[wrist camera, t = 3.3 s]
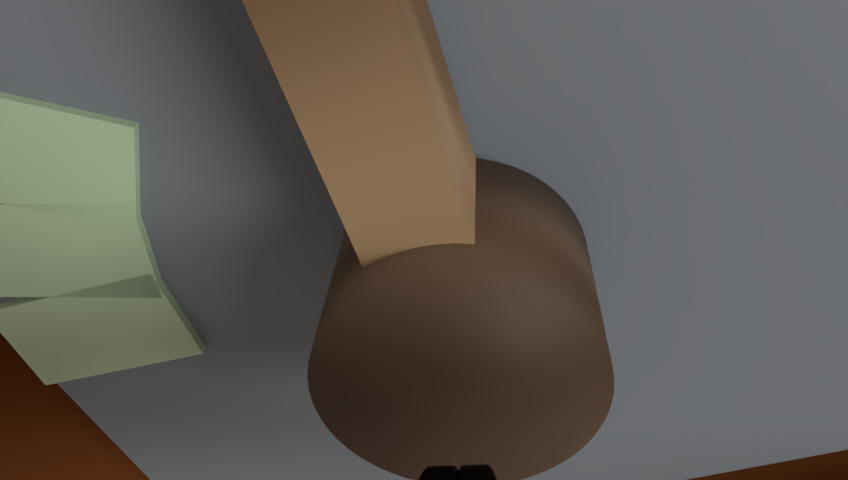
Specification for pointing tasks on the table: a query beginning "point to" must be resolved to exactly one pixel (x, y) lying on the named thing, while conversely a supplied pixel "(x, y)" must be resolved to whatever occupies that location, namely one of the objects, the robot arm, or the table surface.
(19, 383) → the table surface
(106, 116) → the board
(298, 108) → the peg lever
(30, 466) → the table surface
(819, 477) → the table surface
